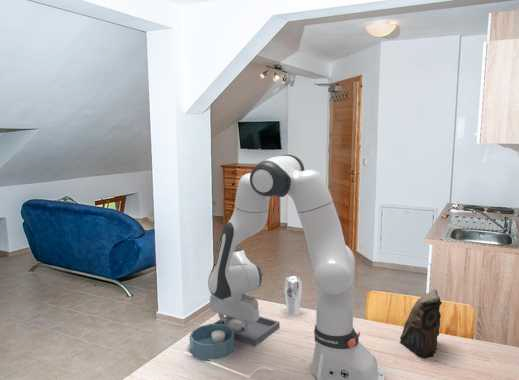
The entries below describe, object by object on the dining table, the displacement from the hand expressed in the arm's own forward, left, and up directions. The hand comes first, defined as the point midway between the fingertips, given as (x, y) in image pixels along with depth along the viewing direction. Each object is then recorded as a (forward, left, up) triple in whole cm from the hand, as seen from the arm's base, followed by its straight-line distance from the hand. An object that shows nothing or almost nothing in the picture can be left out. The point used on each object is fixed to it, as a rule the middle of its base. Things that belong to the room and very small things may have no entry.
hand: (234, 327), depth 156 cm
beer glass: (-10, -26, -3) cm, 28 cm away
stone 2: (0, 0, -2) cm, 2 cm away
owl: (-59, -27, -3) cm, 65 cm away
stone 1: (0, +10, -1) cm, 10 cm away
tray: (-2, -4, -2) cm, 5 cm away
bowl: (0, +13, -2) cm, 13 cm away
